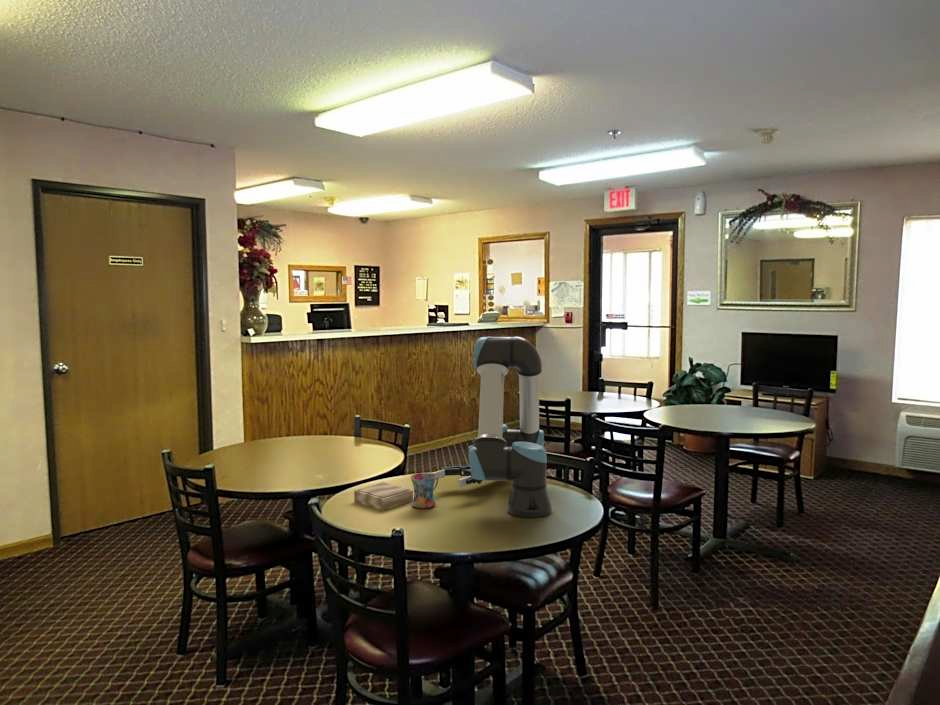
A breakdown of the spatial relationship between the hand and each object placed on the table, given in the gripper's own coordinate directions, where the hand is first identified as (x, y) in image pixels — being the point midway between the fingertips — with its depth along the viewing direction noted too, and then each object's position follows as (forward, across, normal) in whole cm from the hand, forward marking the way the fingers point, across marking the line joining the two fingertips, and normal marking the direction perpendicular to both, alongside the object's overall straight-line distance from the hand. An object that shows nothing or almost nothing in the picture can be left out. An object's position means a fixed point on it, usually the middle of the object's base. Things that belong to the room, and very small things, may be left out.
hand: (445, 480), depth 236 cm
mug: (+10, 0, -7) cm, 12 cm away
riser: (+17, +15, -7) cm, 24 cm away
